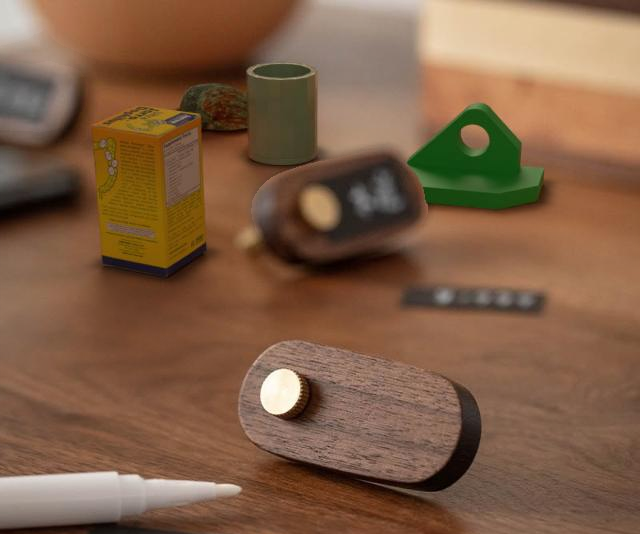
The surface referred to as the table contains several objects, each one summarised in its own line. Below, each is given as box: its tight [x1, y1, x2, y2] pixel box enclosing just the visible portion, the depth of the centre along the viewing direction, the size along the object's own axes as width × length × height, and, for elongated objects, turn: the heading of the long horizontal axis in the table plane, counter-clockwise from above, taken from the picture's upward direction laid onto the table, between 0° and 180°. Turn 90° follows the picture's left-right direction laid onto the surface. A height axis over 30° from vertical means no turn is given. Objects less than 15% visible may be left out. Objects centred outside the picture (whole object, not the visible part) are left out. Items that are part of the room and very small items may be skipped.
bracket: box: [406, 101, 545, 210], centre depth 112 cm, size 12×8×7 cm, turn 75°
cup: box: [245, 61, 319, 166], centre depth 121 cm, size 6×6×8 cm
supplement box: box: [90, 104, 208, 278], centre depth 97 cm, size 6×6×11 cm
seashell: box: [175, 82, 247, 132], centre depth 132 cm, size 10×4×10 cm
